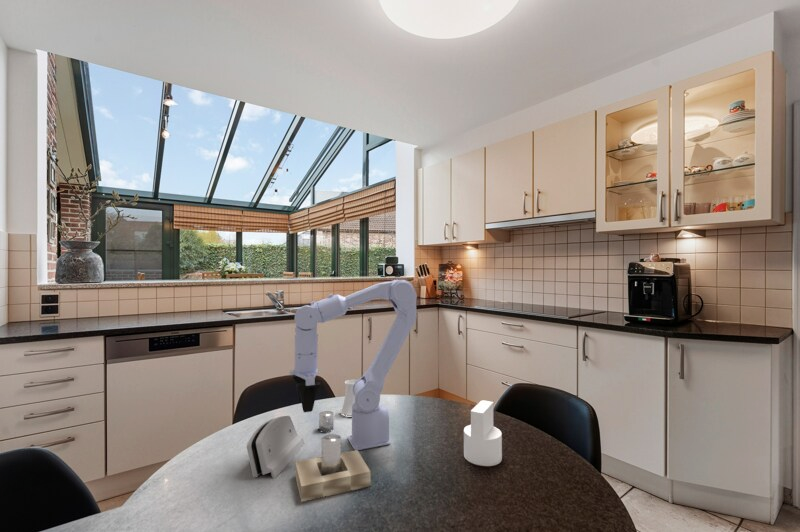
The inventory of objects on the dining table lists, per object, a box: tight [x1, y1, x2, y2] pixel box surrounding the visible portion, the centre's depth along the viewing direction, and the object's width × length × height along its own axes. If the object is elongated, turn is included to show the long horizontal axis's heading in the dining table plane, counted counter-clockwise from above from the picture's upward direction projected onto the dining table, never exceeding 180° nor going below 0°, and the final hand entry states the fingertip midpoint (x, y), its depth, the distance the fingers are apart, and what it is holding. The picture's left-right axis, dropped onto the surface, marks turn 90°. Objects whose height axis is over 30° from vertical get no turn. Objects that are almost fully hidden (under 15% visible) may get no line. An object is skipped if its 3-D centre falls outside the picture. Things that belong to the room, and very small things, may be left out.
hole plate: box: [294, 450, 372, 503], centre depth 77 cm, size 14×10×3 cm
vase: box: [339, 379, 358, 416], centre depth 115 cm, size 8×8×10 cm
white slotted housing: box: [246, 415, 305, 479], centre depth 87 cm, size 17×5×10 cm, turn 172°
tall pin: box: [321, 433, 342, 476], centre depth 77 cm, size 4×4×9 cm
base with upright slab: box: [463, 399, 503, 467], centre depth 88 cm, size 9×9×12 cm
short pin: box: [318, 410, 334, 433], centre depth 103 cm, size 4×4×4 cm
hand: (305, 406), depth 92 cm, fingers open, 7 cm apart
